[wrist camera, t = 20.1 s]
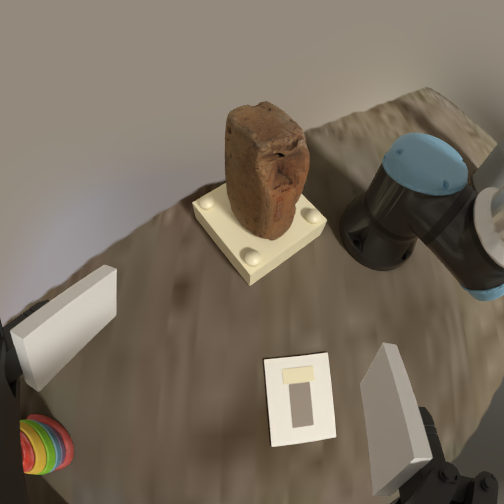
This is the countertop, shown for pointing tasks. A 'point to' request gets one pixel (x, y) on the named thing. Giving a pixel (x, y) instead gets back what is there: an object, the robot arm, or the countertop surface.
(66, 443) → the stacking bear
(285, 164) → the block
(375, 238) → the robot arm
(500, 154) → the water bottle
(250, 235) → the cream knobbed square piece
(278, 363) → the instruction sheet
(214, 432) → the countertop surface
